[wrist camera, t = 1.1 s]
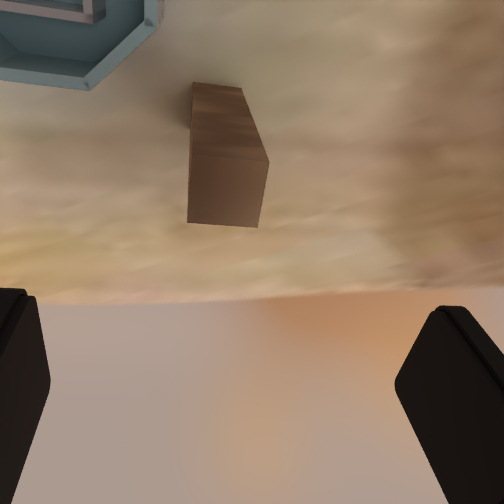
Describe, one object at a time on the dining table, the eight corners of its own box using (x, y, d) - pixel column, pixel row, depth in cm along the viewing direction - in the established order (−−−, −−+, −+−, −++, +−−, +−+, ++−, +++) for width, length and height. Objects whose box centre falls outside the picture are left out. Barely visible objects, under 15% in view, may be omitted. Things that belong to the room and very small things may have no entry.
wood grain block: (241, 88, 26) (269, 161, 16) (235, 135, 27) (257, 227, 18) (193, 82, 25) (192, 154, 15) (190, 130, 27) (187, 222, 17)
